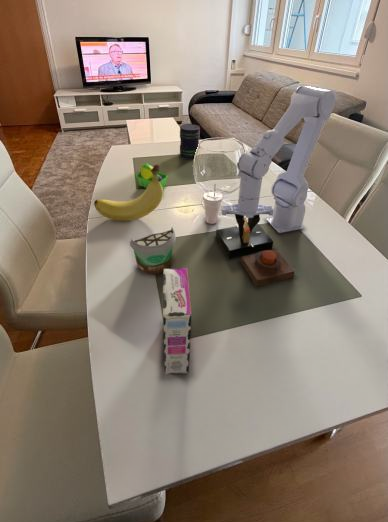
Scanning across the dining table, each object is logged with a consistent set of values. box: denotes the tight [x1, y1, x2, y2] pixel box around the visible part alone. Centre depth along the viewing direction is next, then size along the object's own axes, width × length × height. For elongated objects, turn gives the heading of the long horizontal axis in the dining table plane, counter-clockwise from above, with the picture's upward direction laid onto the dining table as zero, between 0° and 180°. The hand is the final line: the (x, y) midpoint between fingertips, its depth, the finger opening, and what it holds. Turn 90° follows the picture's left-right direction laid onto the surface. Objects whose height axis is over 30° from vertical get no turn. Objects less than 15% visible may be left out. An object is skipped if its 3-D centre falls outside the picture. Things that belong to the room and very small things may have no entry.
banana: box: [93, 164, 164, 221], centre depth 96 cm, size 23×6×20 cm, turn 92°
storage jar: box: [179, 123, 201, 160], centre depth 148 cm, size 10×10×15 cm
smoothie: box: [202, 183, 223, 225], centre depth 98 cm, size 6×6×14 cm
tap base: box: [215, 222, 274, 259], centre depth 90 cm, size 14×11×3 cm
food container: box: [129, 227, 177, 275], centre depth 78 cm, size 12×6×10 cm, turn 117°
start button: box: [261, 250, 276, 264], centre depth 79 cm, size 4×4×2 cm
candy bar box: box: [162, 267, 192, 375], centre depth 57 cm, size 11×5×16 cm, turn 5°
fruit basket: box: [135, 163, 169, 189], centre depth 118 cm, size 11×9×11 cm
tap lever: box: [242, 217, 250, 243], centre depth 88 cm, size 7×2×4 cm, turn 1°
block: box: [240, 249, 296, 287], centre depth 80 cm, size 11×9×4 cm
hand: (244, 234), depth 89 cm, fingers closed on tap lever, 2 cm apart
